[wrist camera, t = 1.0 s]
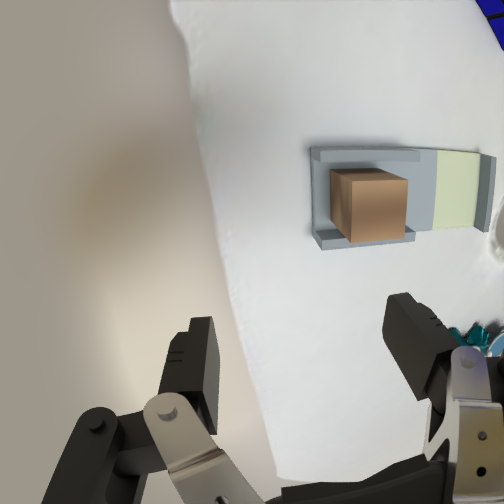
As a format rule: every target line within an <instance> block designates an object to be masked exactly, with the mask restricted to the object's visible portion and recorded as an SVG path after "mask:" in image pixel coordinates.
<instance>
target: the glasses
mask: <svg viewBox="0 0 504 504" xmlns="http://www.w3.org/2000/svg"><path fill="white" fill-rule="evenodd" d="M450 332H451V334H452V335H453V336H454V337H455V339H456V340H457V341H458V342H459V343H460V345H461V346H470V347H474V348H476V349H478V350H479V351H480V352H482V353H483V355H484V356H486V357H496V356H500V355H501V354H502V352H503V349H504V332H501V333H500V334H498V335H497V336H496V337H495V338H494V339H493V340H492V342H491V343H490V345H489V344H488V339H489V335H490V333H489V332H487V333H485V332H484V328H482V327H481V326H479V325H478V326H475V327H474V328H473V329H472V331H471V333H470V335H469V339H468V342H467V341H466V340H465V339H464V338H463V337H462V335H461V333H460V331H459V330H458V329H456V328H455V329H452V330H451V331H450Z"/></svg>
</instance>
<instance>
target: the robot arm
mask: <svg viewBox="0 0 504 504" xmlns="http://www.w3.org/2000/svg"><path fill="white" fill-rule="evenodd" d="M382 333H383V339H384V342H385V343H386V345H387V347H388V349H389V350H390V352H391V354H392V356H393V357H394V359H395V361H396V363H397V364H398V366H399V368H400V370H401V371H402V373H403V375H404V377H405V379H406V380H407V382H408V384H409V386H410V388H411V389H412V391H413V393H414V395H415V397H416V399H417V401H420V400H423V399H426V398H429V399H430V401H431V402H430V404H429V407H428V413H427V423H426V432H425V439H424V446H423V451H422V454H420V455H418V456H415V457H412V458H409V459H406V460H403V461H400V462H397V463H394V464H392V465H390V466H389V467H387V468H385V469H384V470H382V471H380V472H378V473H376V474H374V475H373V476H371V477H369V478H367V479H365V480H363V481H360V482H317V483H311V484H305V485H299V486H291V487H283V488H281V493H282V495H281V496H279V497H276V498H273V499H271V500H269V501H266V502H264V501H263V500H262V499H261V498H260V496H259V495H258V494H257V493H256V492H255V490H254V489H253V488H252V487H251V485H250V484H249V483H248V482H247V480H246V479H245V478H244V476H243V475H242V474H241V472H240V471H239V470H238V468H237V467H236V466H235V464H234V463H233V462H232V460H231V459H230V458H229V456H228V455H227V454H226V453H225V451H224V450H223V449H220V448H218V446H217V445H216V443H215V442H214V440H213V439H212V437H211V436H210V435H217V420H218V394H219V371H220V355H219V348H218V343H217V338H216V334H215V328H214V323H213V319H212V316H209V317H195V318H191V321H190V325H189V330H188V332H178V333H177V334H176V336H175V337H174V338H173V339H172V341H171V342H170V346H169V350H168V354H167V358H166V363H165V366H164V370H163V374H162V379H161V382H160V386H159V391H158V395H157V396H155V397H153V398H152V399H150V400H149V401H148V402H147V404H146V405H145V407H144V410H142V411H139V412H136V413H132V414H127V415H122V416H116V415H115V413H114V412H113V411H112V410H110V409H108V408H104V407H96V408H92V409H89V410H87V411H86V412H84V413H83V414H82V415H81V416H80V418H79V419H78V421H77V423H76V425H75V427H74V429H73V431H72V434H71V436H70V438H69V440H68V442H67V444H66V446H65V449H64V451H63V453H62V455H61V458H60V460H59V462H58V464H57V467H56V469H55V471H54V474H53V476H52V478H51V481H50V483H49V486H48V488H47V490H46V493H45V495H44V498H43V501H42V503H41V504H141V500H142V496H143V492H144V488H145V484H146V480H147V476H148V473H153V472H158V471H162V470H167V469H168V473H169V476H170V478H171V480H172V482H173V484H174V486H175V487H176V489H177V491H178V493H179V495H180V496H181V498H182V500H183V502H184V503H185V504H504V349H503V352H502V354H501V356H496V357H485V356H484V355H483V353H482V352H480V351H479V350H478V349H476V348H474V347H470V346H461V345H460V343H459V342H458V341H457V340H456V339H455V337H454V336H453V335H452V334H451V332H450V331H449V330H448V329H447V328H446V326H445V325H443V323H442V322H441V321H440V319H439V318H437V316H436V315H435V314H434V312H433V311H432V310H431V309H430V308H428V307H427V306H425V305H423V304H422V303H417V302H416V301H415V300H414V298H413V297H412V296H411V295H410V294H409V293H408V292H405V293H400V294H394V295H390V296H389V297H388V299H387V304H386V310H385V316H384V322H383V328H382Z"/></svg>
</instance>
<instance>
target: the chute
mask: <svg viewBox="0 0 504 504" xmlns="http://www.w3.org/2000/svg"><path fill="white" fill-rule="evenodd" d="M310 149H311V170H312V198H313V237H314V239H315V240H316V242H317V244H318V245H319V247H320V248H321V250H333V249H343V248H353V247H363V246H373V245H383V244H393V243H403V242H413V241H415V234H416V232H417V231H428V230H440V229H452V228H463V227H475V228H477V229H479V230H480V231H482V232H488V231H489V225H490V219H491V212H492V204H493V196H494V186H495V174H496V157H492V156H489V155H485V154H481V153H472V152H463V151H451V150H439V149H423V148H402V147H315V148H310ZM351 168H379V169H382V170H384V171H387V172H389V173H392V174H395V175H397V176H400V177H402V178H404V179H407V180H408V196H407V212H406V224H405V235H404V238H402V239H392V240H381V241H371V242H360V243H350V242H349V241H348V240H347V238H346V237H345V236H344V235H343V234H342V233H341V232H340V230H339V229H338V228H337V227H336V226H335V225H334V224H333V223H332V222H331V220H330V169H351Z"/></svg>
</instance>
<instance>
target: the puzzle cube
mask: <svg viewBox="0 0 504 504" xmlns="http://www.w3.org/2000/svg"><path fill="white" fill-rule="evenodd" d="M476 1H477V3H478V4H479V6H480V8H481V9H482V11H483V13H484V14H485V16H486V17H488V22H489V23H490V25H491V27H492V29H493V31H494V33H495V35H496V37H497V39H498V41H499V43H500V45H501V47H502V49H503V50H504V0H476Z"/></svg>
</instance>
